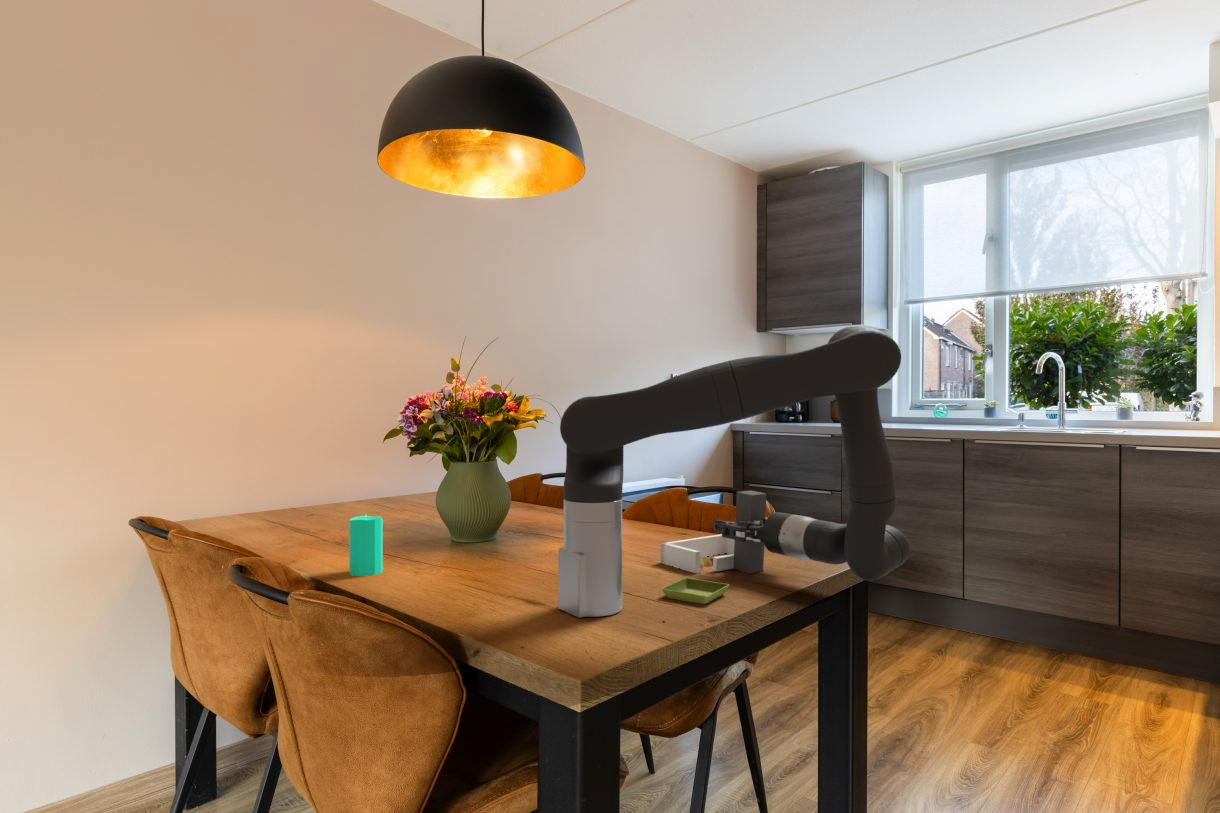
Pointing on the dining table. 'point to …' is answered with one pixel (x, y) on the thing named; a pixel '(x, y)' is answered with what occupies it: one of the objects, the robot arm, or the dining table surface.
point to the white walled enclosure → (694, 551)
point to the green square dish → (694, 590)
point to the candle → (365, 545)
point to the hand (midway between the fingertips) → (728, 523)
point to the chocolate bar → (707, 561)
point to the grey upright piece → (747, 552)
